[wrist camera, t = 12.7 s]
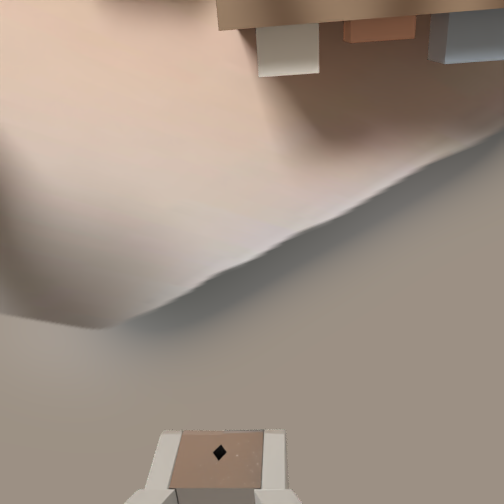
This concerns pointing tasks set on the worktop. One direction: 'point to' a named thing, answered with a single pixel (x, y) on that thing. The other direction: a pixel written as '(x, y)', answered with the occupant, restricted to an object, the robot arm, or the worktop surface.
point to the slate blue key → (467, 36)
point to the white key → (288, 50)
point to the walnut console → (332, 10)
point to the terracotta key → (379, 29)
